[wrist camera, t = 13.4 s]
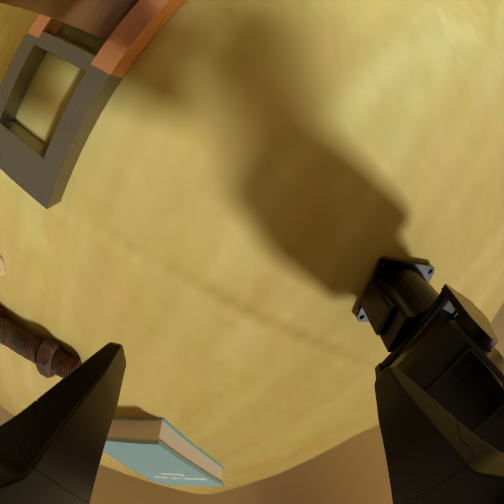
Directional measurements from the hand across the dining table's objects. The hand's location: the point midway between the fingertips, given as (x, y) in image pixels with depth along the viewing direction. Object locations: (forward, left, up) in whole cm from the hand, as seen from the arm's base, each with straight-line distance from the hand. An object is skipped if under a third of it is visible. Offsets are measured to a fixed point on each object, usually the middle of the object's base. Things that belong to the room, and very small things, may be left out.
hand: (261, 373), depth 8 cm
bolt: (+24, +18, -14) cm, 33 cm away
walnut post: (+14, -16, -13) cm, 25 cm away
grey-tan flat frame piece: (+15, -12, -13) cm, 24 cm away
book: (+9, +43, -14) cm, 46 cm away
